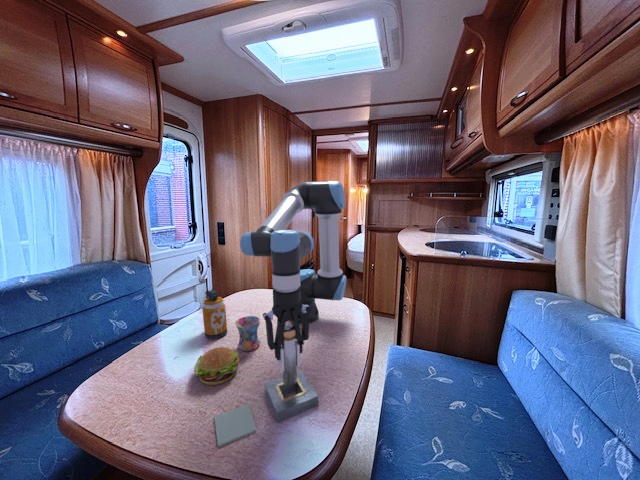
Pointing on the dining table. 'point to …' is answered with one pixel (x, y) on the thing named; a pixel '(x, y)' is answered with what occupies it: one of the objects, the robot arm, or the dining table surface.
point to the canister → (214, 315)
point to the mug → (248, 332)
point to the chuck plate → (291, 404)
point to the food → (217, 365)
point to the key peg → (289, 355)
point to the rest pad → (234, 425)
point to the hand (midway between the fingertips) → (289, 366)
